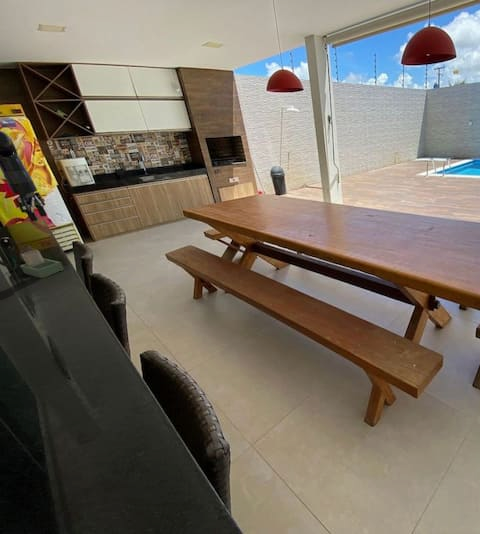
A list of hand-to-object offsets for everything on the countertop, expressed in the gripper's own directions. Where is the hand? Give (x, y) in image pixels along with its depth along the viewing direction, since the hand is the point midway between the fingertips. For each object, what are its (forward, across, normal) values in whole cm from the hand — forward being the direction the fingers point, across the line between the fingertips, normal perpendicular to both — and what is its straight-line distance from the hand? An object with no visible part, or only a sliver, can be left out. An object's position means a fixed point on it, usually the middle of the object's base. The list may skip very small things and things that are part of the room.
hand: (39, 218), depth 136 cm
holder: (+23, +6, -5) cm, 24 cm away
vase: (+23, -11, -16) cm, 30 cm away
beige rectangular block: (+23, +3, -8) cm, 24 cm away
